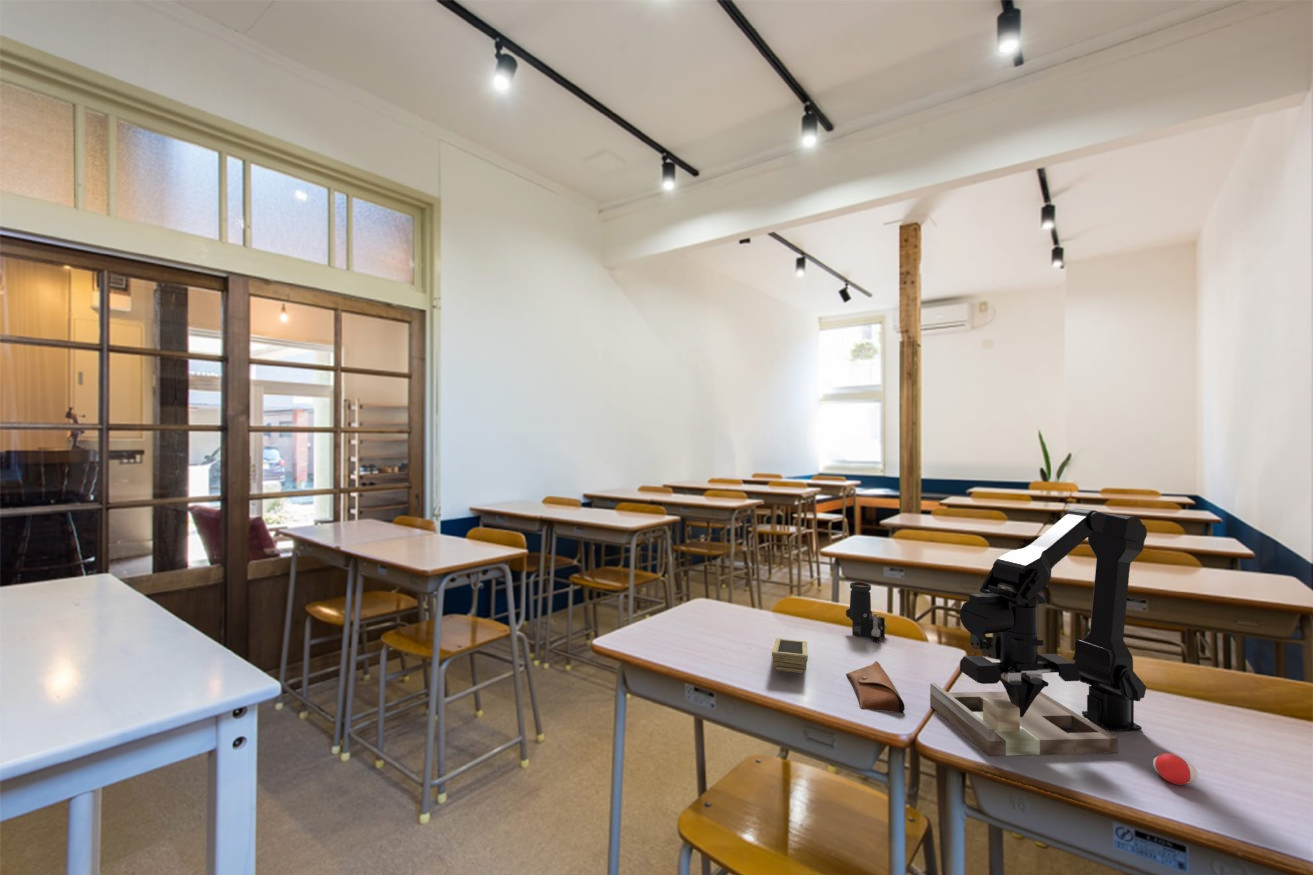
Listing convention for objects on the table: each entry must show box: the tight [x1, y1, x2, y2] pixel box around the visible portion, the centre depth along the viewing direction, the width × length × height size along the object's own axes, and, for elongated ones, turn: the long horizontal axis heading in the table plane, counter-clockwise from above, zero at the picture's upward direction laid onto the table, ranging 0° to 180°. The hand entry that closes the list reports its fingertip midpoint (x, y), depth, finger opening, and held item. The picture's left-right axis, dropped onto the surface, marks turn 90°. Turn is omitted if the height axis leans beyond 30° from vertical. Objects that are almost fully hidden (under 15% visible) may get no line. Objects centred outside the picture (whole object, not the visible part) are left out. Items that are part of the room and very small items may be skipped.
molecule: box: [1152, 753, 1199, 786], centre depth 87 cm, size 5×5×4 cm
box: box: [771, 637, 809, 674], centre depth 132 cm, size 8×22×5 cm, turn 167°
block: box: [983, 698, 1020, 732], centre depth 99 cm, size 4×4×4 cm
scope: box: [845, 581, 887, 643], centre depth 152 cm, size 8×14×10 cm
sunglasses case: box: [845, 660, 906, 714], centre depth 117 cm, size 18×7×7 cm
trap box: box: [929, 682, 1119, 757], centre depth 103 cm, size 23×18×4 cm
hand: (1019, 715), depth 99 cm, fingers closed
